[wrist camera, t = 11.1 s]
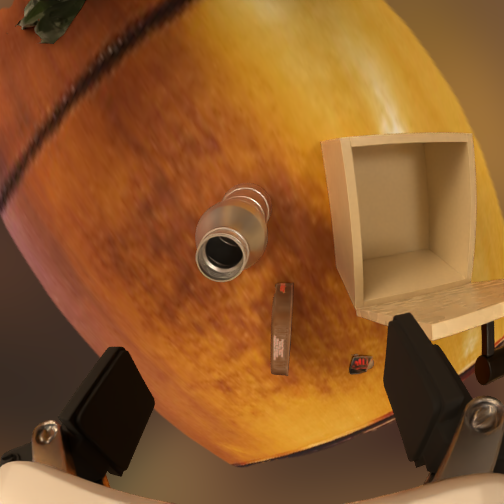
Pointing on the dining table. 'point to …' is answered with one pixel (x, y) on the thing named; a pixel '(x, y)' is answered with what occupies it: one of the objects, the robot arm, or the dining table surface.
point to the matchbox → (360, 364)
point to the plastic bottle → (233, 232)
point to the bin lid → (454, 318)
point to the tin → (281, 328)
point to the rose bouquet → (50, 17)
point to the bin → (402, 213)
